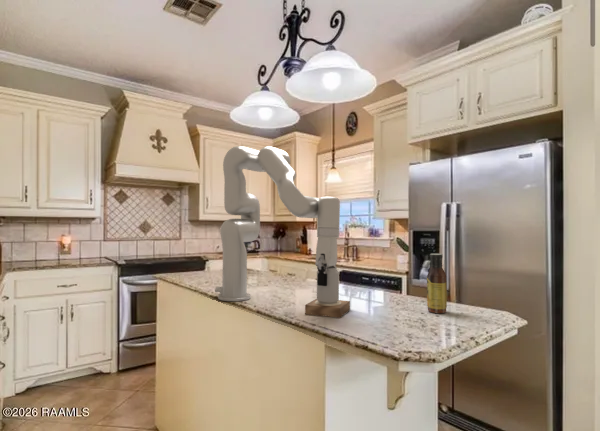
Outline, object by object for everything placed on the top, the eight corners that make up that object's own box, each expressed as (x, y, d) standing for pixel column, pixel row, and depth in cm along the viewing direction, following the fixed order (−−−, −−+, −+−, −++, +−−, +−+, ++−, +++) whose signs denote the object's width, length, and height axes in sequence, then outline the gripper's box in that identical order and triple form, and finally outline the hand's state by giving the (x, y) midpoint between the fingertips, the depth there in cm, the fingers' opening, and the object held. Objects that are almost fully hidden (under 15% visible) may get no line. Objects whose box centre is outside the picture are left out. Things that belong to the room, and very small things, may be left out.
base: (305, 314, 122) (305, 304, 122) (317, 306, 133) (317, 297, 133) (340, 317, 117) (340, 307, 117) (349, 309, 128) (349, 300, 128)
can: (337, 305, 121) (337, 268, 121) (314, 304, 122) (315, 267, 123) (339, 300, 128) (339, 265, 128) (318, 299, 130) (318, 265, 130)
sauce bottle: (432, 309, 130) (432, 252, 131) (449, 312, 126) (449, 253, 126) (423, 312, 126) (423, 253, 126) (441, 315, 121) (441, 254, 122)
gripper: (325, 232, 135) (324, 279, 135) (308, 233, 119) (307, 286, 119) (345, 233, 132) (344, 280, 132) (330, 234, 116) (329, 288, 116)
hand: (326, 283), depth 125 cm, fingers open, 9 cm apart
